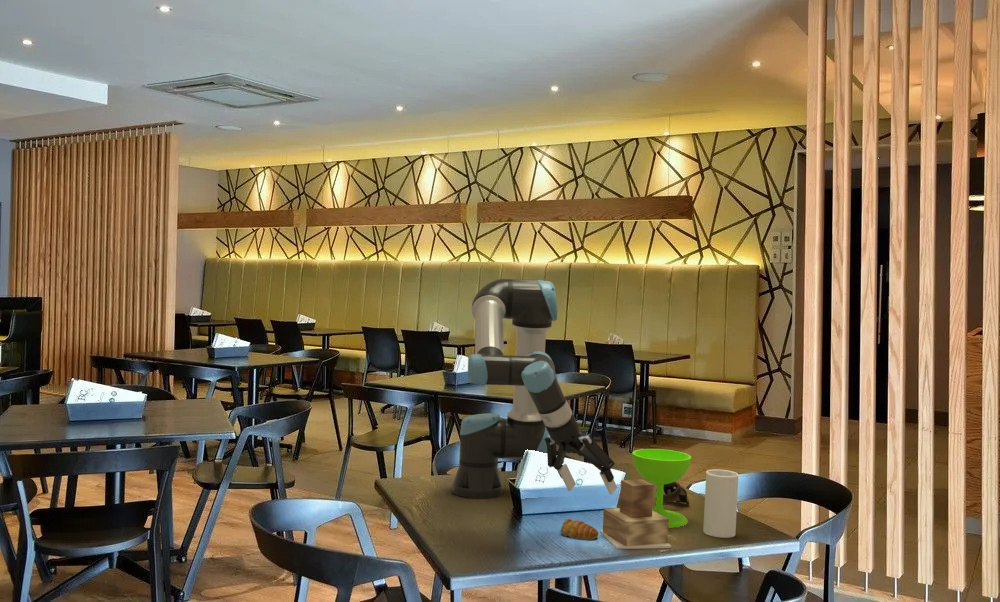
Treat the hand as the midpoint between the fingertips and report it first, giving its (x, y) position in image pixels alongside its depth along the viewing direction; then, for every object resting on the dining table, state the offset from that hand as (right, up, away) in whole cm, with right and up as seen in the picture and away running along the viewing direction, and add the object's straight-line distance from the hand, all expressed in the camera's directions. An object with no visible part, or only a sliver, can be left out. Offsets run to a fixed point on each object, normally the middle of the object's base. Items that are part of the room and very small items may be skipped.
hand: (592, 489), depth 223 cm
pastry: (-3, -13, +2) cm, 13 cm away
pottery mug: (+27, -13, +37) cm, 48 cm away
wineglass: (+20, -13, +20) cm, 31 cm away
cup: (+34, -14, +10) cm, 38 cm away
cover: (+11, -12, 0) cm, 16 cm away
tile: (+11, -13, 0) cm, 17 cm away
